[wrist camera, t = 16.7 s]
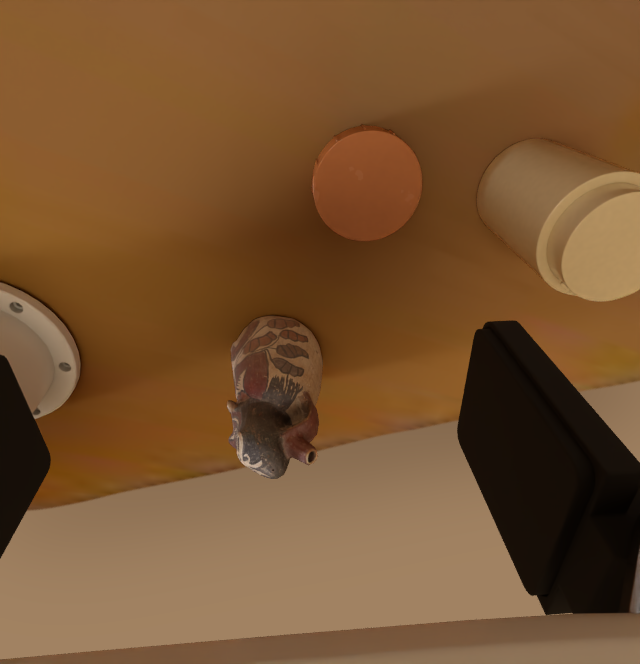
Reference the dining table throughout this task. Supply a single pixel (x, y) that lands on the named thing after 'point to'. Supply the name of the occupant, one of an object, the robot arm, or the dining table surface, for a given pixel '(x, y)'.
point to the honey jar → (566, 217)
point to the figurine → (275, 394)
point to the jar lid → (366, 183)
